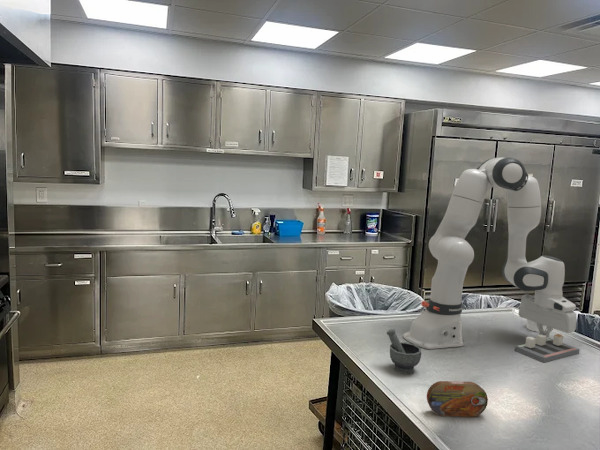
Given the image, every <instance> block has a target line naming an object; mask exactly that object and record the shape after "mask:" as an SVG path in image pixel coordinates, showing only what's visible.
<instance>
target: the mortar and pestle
mask: <svg viewBox="0 0 600 450" xmlns="http://www.w3.org/2000/svg"><path fill="white" fill-rule="evenodd" d="M386 335H387V336H388V337H389V340H390V345H389V357H390V360H391V361H392V363H393V364H394V366H393V368H394V371H396V372H397V373H398V374H399V373H400V374H404V375H410V374H412V373H415V367H416V366H417V365H418V364H419V363H420V361H421V359H422V347H419V346H417V345H415V344H413V343H410V342H401V341H400V339H399V337H398V335H397V333H396V329H394V328H393V329H392V328H391V329H388V330H387V331H386Z"/></svg>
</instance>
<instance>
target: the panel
mask: <svg viewBox="0 0 600 450" xmlns="http://www.w3.org/2000/svg"><path fill="white" fill-rule="evenodd" d="M525 344H526V343H523V344H519V345H515V346H514V351H515V352H518V353H520V354H522V355H524V356H527V357H529V358H531V359H534V360H537V361H539V362H541V363H548V362H552V361H556V360H560V359H563V358H567V357H571V356H574V355H578V354H579V353H580V348H578V347H575V346H572V345H569V344H566V343H563V344H562V345H560V346H557V345H555V344H553V339H552V338H550V337H548V338H546V345H542V346H540V345H538V344H536V342H535V347H534V348H528V347H526V346H525Z"/></svg>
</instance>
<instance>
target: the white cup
mask: <svg viewBox="0 0 600 450" xmlns="http://www.w3.org/2000/svg"><path fill="white" fill-rule="evenodd" d="M525 326H526V329H527V330H529V331H532V332H537V333H539V330H538V327H537V323H536V322H533V321H530V320H527V319H526V325H525ZM542 327H543V330H544V331H546V326H545V325H544V326H542Z"/></svg>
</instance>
